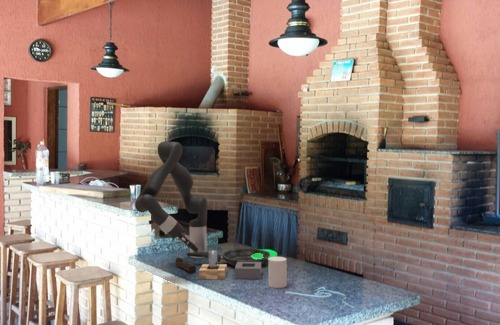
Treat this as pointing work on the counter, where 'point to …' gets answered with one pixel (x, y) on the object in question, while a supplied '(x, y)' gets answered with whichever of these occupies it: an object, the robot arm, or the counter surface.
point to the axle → (213, 259)
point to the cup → (277, 272)
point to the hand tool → (185, 265)
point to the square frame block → (213, 272)
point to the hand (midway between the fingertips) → (195, 249)
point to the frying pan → (235, 256)
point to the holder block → (248, 270)
